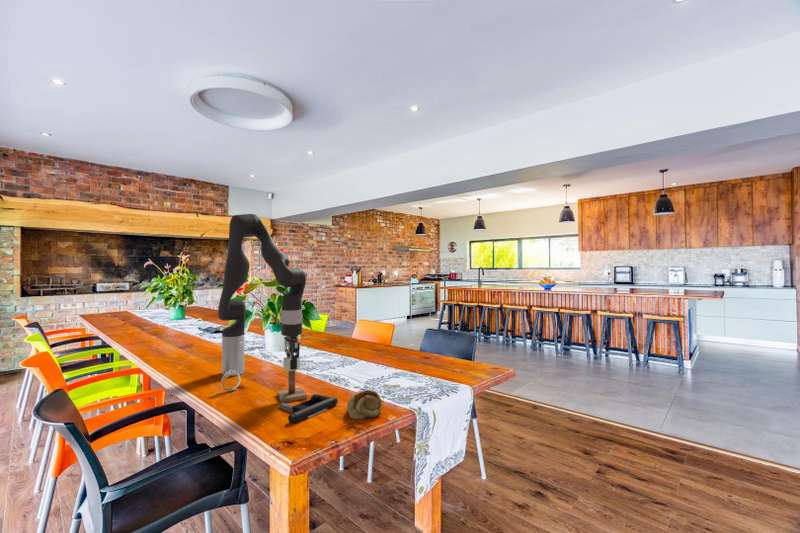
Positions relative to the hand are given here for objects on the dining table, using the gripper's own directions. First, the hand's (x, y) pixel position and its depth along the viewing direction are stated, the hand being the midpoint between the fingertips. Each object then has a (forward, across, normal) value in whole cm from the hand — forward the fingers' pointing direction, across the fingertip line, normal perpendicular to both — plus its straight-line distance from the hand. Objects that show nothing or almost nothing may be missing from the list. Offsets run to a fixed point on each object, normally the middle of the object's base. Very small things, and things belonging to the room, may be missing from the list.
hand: (291, 367), depth 136 cm
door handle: (+12, +13, +1) cm, 18 cm away
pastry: (+12, +25, +19) cm, 33 cm away
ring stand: (+11, 0, 0) cm, 11 cm away
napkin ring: (+1, 0, 0) cm, 1 cm away
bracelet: (+11, -18, -19) cm, 29 cm away
